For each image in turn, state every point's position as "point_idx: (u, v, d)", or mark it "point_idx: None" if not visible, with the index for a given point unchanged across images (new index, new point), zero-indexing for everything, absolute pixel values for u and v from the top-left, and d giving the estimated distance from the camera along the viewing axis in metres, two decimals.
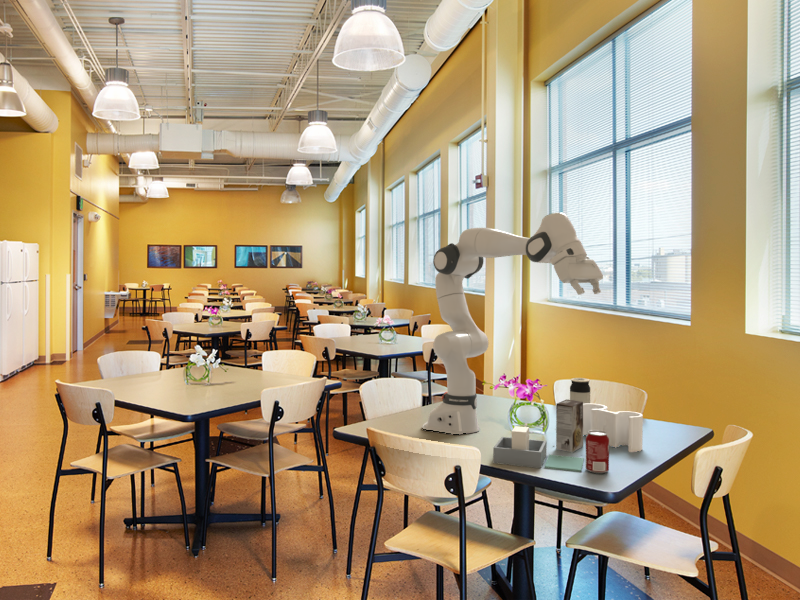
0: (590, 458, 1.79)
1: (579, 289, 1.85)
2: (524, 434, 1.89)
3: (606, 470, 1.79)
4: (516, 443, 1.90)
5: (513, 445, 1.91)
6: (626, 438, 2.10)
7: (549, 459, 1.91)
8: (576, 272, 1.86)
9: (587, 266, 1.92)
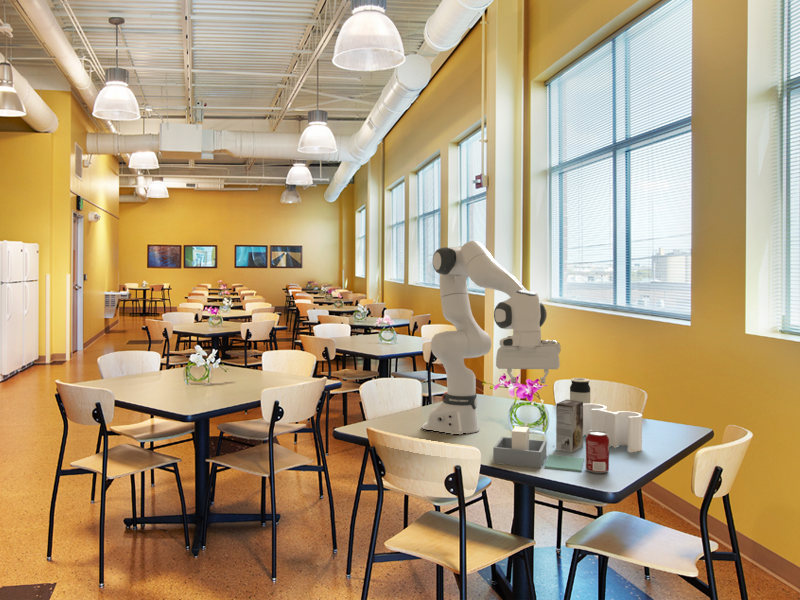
0: (590, 458, 1.79)
1: None
2: (524, 434, 1.89)
3: (606, 470, 1.79)
4: (516, 443, 1.90)
5: (513, 445, 1.91)
6: (626, 438, 2.10)
7: (549, 459, 1.91)
8: (510, 362, 1.91)
9: (537, 355, 1.89)
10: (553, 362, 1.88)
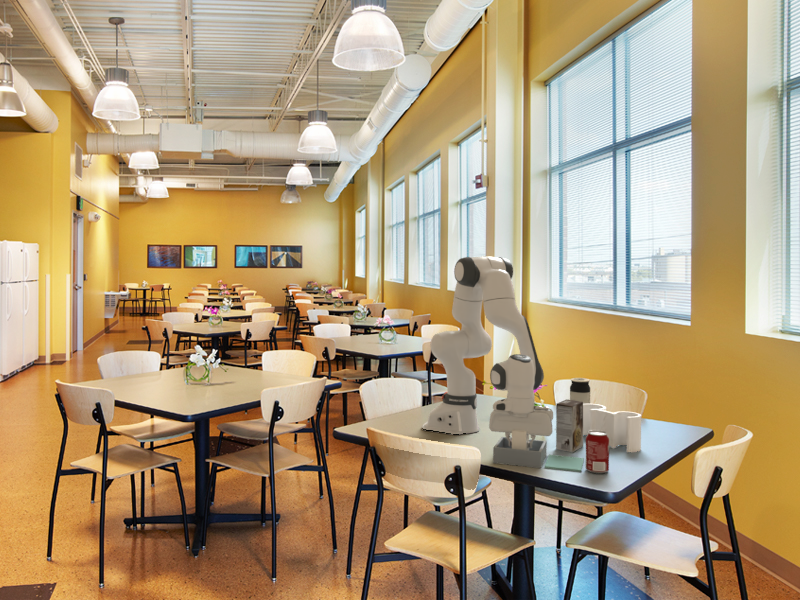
0: (590, 458, 1.79)
1: None
2: (524, 434, 1.89)
3: (606, 470, 1.79)
4: (516, 443, 1.90)
5: (513, 445, 1.91)
6: (625, 439, 2.10)
7: (549, 459, 1.91)
8: (503, 426, 1.93)
9: (530, 421, 1.91)
10: (545, 429, 1.89)
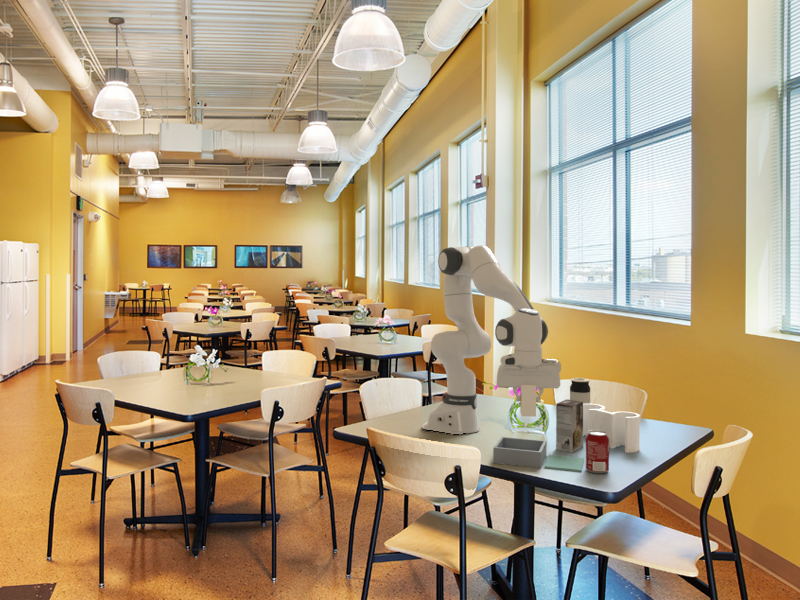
0: (590, 458, 1.79)
1: (516, 397, 1.92)
2: (534, 387, 1.88)
3: (606, 470, 1.79)
4: (526, 397, 1.89)
5: (523, 399, 1.89)
6: (623, 439, 2.09)
7: (549, 459, 1.91)
8: (512, 381, 1.91)
9: (538, 374, 1.90)
10: (554, 381, 1.89)
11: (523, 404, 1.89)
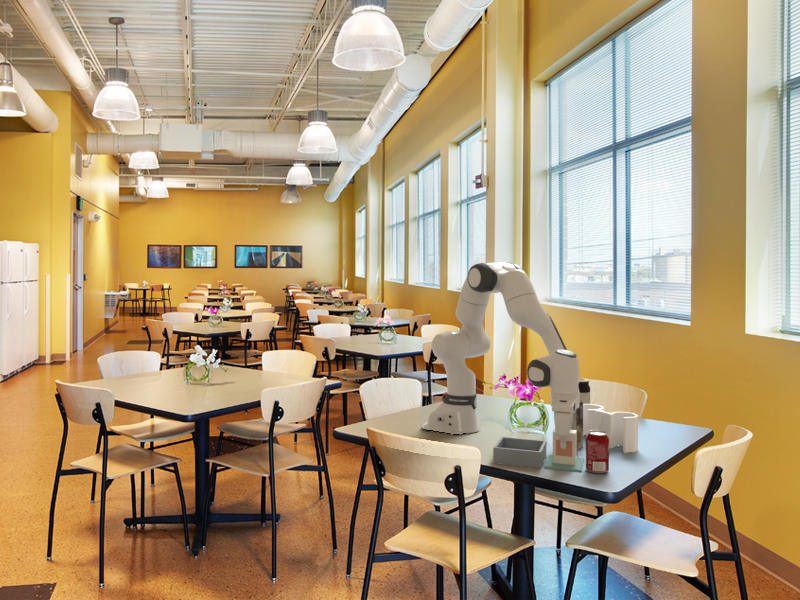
0: (590, 458, 1.79)
1: (564, 444, 1.84)
2: (576, 432, 1.89)
3: (606, 470, 1.79)
4: None
5: (575, 447, 1.86)
6: (622, 439, 2.09)
7: (549, 459, 1.91)
8: (569, 427, 1.83)
9: None
10: (572, 417, 1.95)
11: (575, 452, 1.86)
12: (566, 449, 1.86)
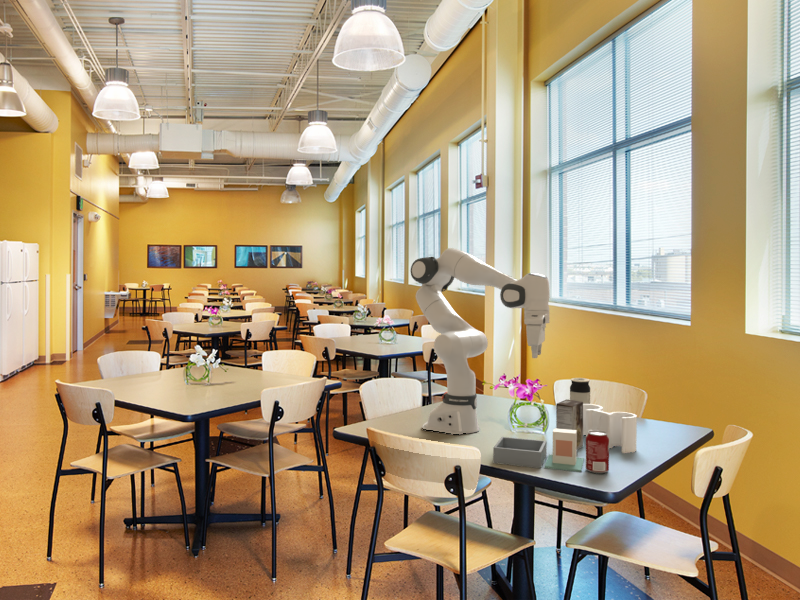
0: (590, 458, 1.79)
1: (535, 354, 2.08)
2: (576, 432, 1.89)
3: (606, 470, 1.79)
4: None
5: (575, 447, 1.86)
6: (621, 439, 2.09)
7: (549, 459, 1.91)
8: (539, 339, 2.08)
9: (542, 330, 2.16)
10: (544, 335, 2.20)
11: (575, 452, 1.86)
12: (566, 449, 1.86)
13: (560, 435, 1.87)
